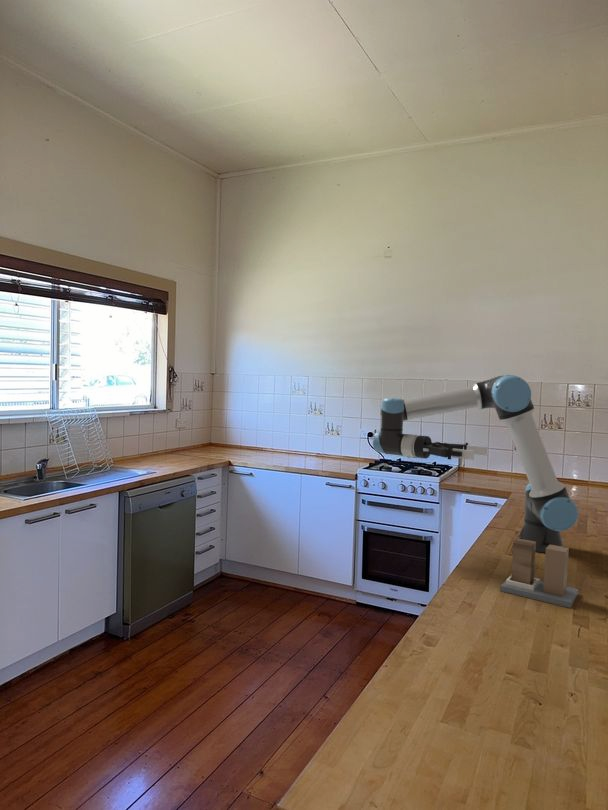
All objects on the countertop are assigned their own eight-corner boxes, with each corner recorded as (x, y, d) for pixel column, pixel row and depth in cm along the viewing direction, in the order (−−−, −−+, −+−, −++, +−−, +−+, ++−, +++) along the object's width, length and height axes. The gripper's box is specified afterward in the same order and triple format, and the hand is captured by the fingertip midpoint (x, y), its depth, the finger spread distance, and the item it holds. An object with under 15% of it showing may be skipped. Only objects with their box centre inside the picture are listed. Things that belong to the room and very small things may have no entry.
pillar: (515, 579, 163) (517, 538, 162) (533, 583, 160) (536, 541, 160) (510, 583, 159) (513, 542, 158) (529, 588, 156) (531, 545, 155)
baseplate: (511, 579, 167) (514, 534, 166) (577, 594, 157) (580, 546, 156) (500, 591, 157) (503, 543, 156) (570, 608, 147) (573, 557, 146)
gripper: (430, 454, 199) (491, 460, 187) (400, 461, 178) (466, 469, 166) (431, 433, 199) (492, 438, 186) (402, 437, 178) (467, 444, 166)
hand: (480, 453), depth 176 cm, fingers open, 13 cm apart
